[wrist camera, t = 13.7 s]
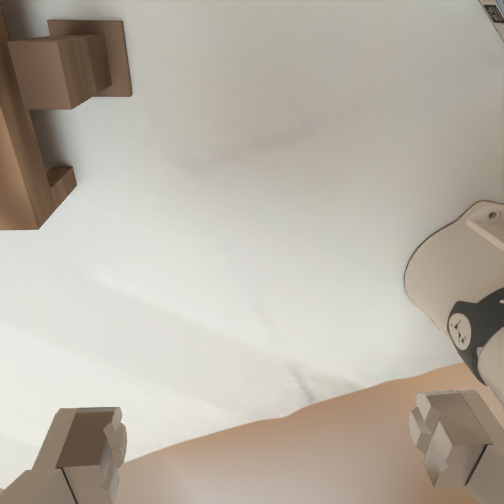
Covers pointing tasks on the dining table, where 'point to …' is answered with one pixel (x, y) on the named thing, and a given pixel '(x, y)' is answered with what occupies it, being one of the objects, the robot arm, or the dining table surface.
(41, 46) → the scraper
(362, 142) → the dining table surface
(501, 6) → the light bulb box
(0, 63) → the wooden footstool
